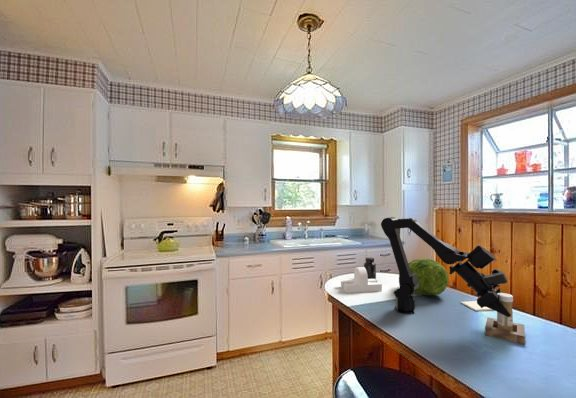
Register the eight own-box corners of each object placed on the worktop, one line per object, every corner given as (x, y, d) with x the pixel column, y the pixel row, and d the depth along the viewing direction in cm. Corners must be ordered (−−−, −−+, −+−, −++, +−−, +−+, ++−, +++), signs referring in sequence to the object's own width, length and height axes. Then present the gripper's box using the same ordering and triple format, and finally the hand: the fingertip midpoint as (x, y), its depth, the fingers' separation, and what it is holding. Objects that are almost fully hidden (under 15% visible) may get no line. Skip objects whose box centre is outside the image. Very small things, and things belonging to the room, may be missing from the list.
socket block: (485, 334, 99) (485, 327, 99) (487, 323, 108) (487, 317, 108) (525, 344, 93) (525, 336, 93) (524, 331, 101) (524, 324, 101)
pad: (475, 311, 120) (475, 309, 120) (460, 303, 129) (460, 301, 129) (496, 310, 120) (496, 308, 120) (479, 302, 129) (479, 300, 129)
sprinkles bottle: (515, 337, 97) (515, 297, 97) (499, 335, 99) (499, 296, 99) (509, 331, 102) (509, 293, 102) (494, 329, 103) (494, 291, 103)
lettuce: (422, 285, 156) (413, 253, 158) (460, 291, 134) (449, 255, 136) (396, 295, 150) (387, 262, 152) (432, 303, 128) (421, 265, 130)
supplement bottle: (376, 280, 164) (376, 259, 164) (364, 280, 165) (363, 259, 165) (375, 277, 171) (375, 257, 170) (363, 276, 172) (363, 256, 172)
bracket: (345, 293, 144) (345, 270, 144) (340, 287, 154) (340, 265, 154) (382, 291, 146) (382, 269, 146) (375, 285, 156) (374, 264, 156)
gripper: (488, 268, 95) (532, 309, 88) (492, 258, 110) (530, 293, 103) (461, 287, 100) (500, 328, 93) (468, 275, 115) (503, 310, 108)
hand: (509, 313), depth 99 cm, fingers closed on sprinkles bottle, 4 cm apart
